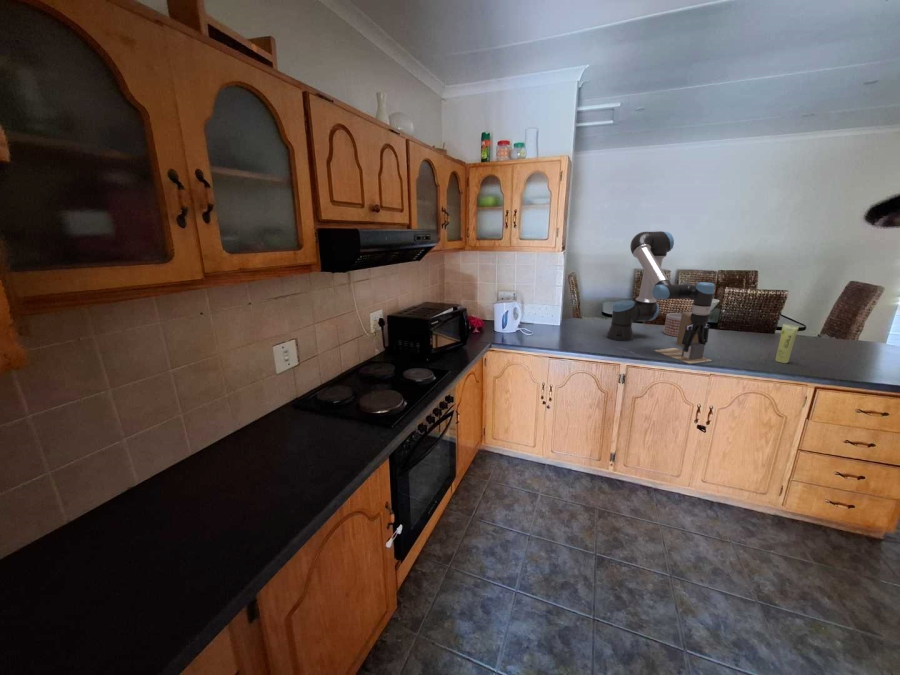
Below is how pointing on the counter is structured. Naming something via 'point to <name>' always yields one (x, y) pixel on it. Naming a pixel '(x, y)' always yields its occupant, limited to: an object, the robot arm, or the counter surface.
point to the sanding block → (695, 351)
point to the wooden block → (683, 323)
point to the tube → (786, 342)
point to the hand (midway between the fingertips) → (691, 356)
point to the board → (679, 355)
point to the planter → (672, 324)
